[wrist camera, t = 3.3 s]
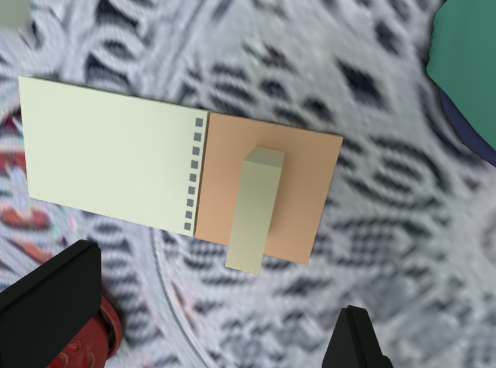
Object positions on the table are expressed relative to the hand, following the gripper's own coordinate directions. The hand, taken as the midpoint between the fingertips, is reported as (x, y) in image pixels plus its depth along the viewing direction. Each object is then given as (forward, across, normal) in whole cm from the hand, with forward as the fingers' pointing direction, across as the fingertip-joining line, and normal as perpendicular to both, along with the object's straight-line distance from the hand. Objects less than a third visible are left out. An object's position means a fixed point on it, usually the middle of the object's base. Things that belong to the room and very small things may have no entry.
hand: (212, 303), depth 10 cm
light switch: (+16, 0, +1) cm, 16 cm away
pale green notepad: (+16, +14, +1) cm, 22 cm away
